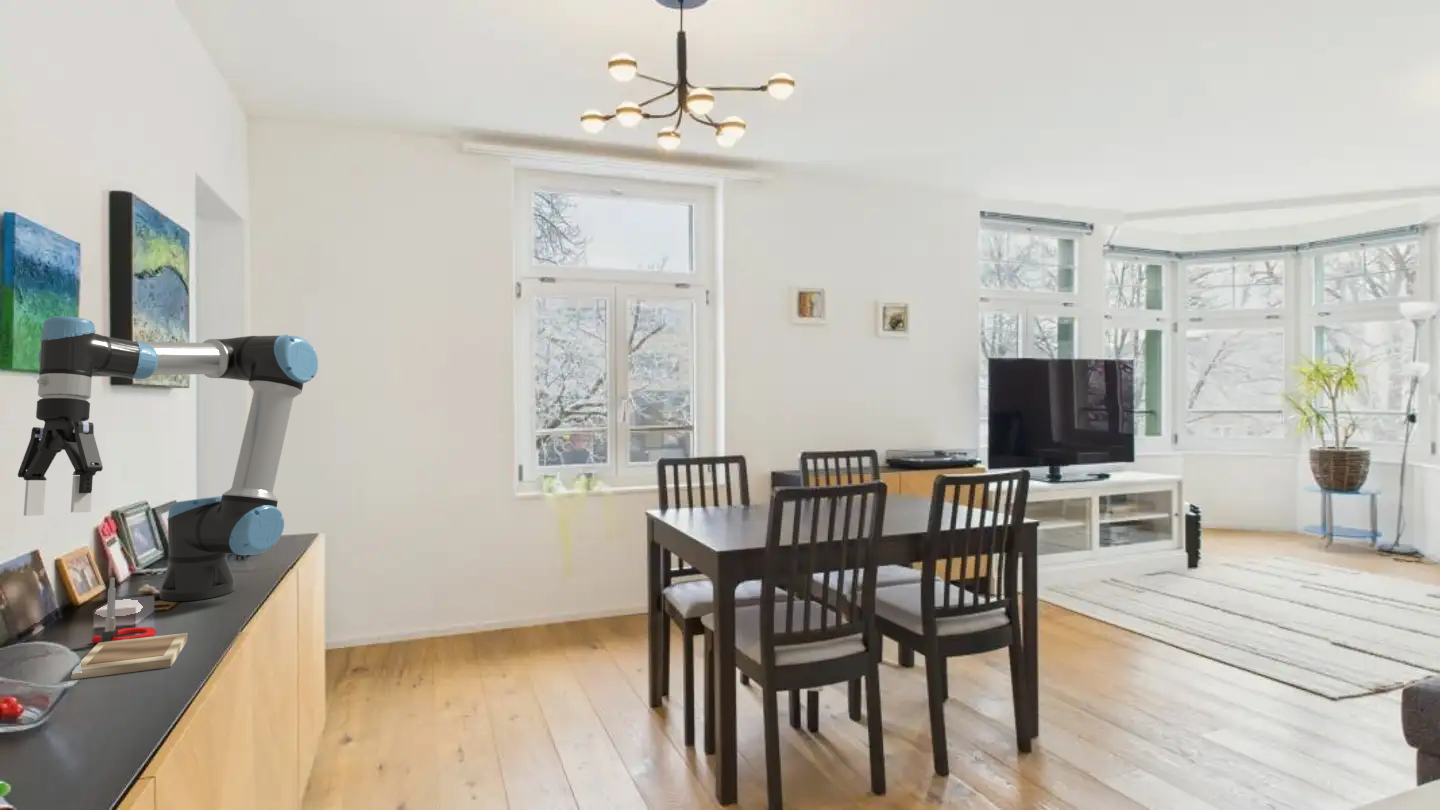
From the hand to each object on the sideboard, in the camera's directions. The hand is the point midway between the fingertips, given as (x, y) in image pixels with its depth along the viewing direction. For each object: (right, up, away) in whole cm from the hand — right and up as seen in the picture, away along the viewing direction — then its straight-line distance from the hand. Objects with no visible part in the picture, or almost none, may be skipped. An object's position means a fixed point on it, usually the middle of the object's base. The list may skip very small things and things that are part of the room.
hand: (56, 514), depth 139 cm
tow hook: (+3, -27, +13) cm, 30 cm away
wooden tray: (+13, -27, +1) cm, 30 cm away
